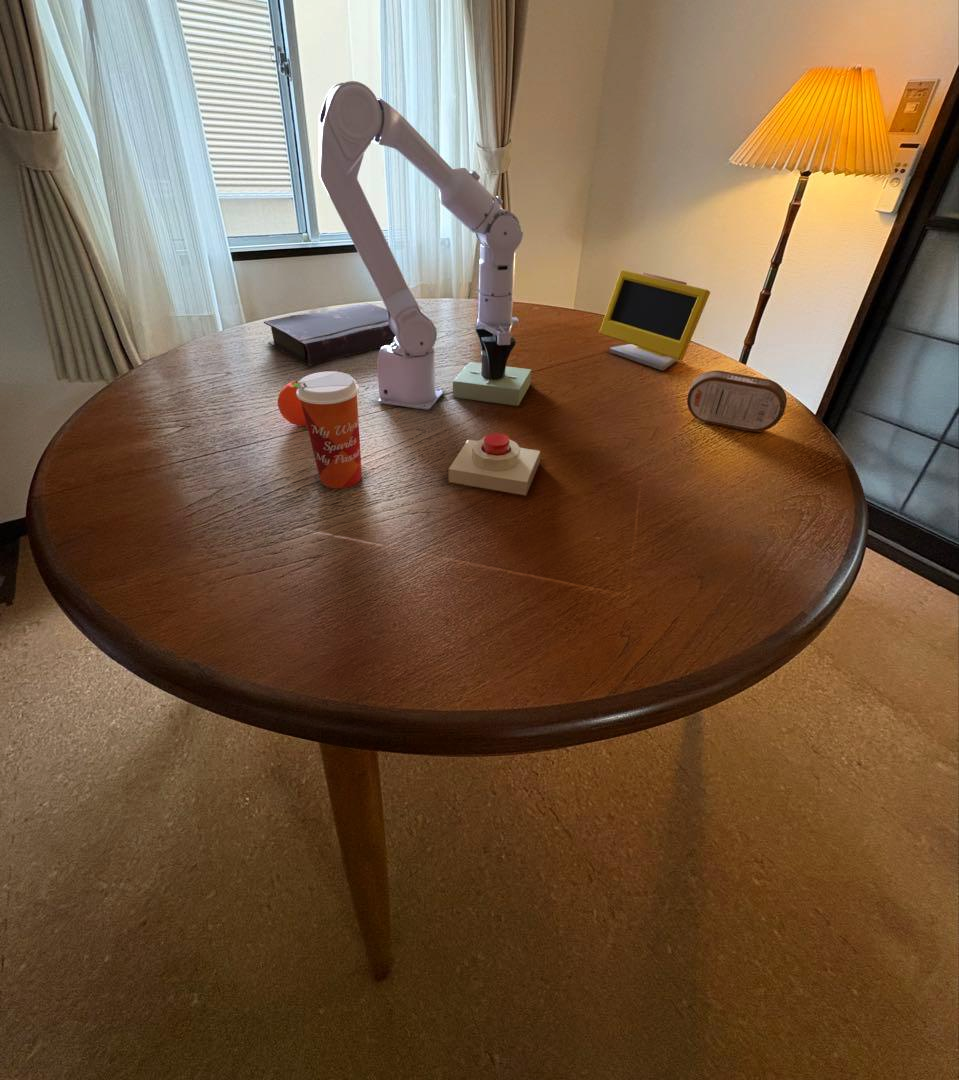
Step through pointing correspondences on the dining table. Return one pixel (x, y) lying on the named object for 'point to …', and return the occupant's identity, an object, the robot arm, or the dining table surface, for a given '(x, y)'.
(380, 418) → the dining table surface
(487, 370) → the dial knob
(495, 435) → the red button
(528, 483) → the button block
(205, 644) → the dining table surface
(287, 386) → the clementine
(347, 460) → the paper cup
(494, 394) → the dial panel
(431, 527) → the dining table surface
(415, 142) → the robot arm
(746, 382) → the tin
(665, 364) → the toy computer monitor
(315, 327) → the diary
